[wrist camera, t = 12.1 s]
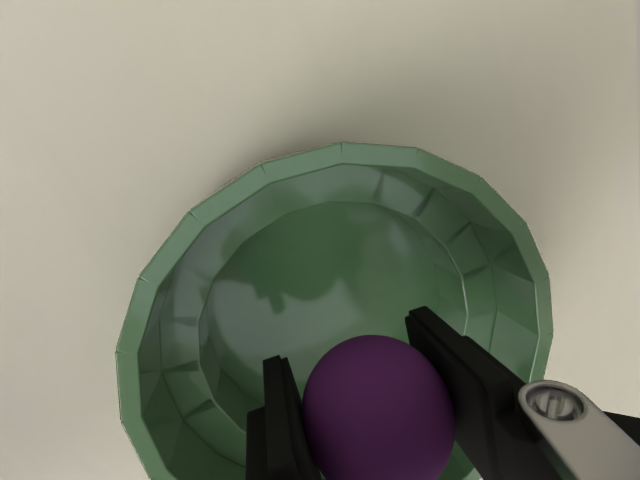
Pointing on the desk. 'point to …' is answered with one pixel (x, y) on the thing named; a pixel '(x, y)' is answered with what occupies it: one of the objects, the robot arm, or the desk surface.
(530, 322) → the bowl
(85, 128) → the desk surface
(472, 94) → the desk surface
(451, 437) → the ball
